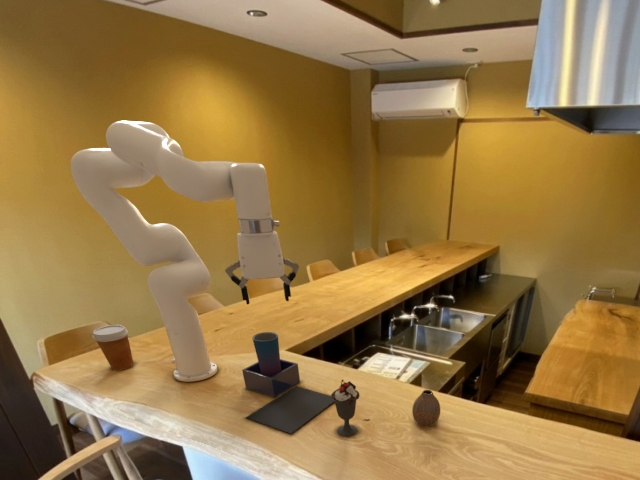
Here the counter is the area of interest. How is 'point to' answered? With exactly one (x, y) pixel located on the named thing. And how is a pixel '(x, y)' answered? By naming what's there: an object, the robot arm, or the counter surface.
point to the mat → (292, 409)
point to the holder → (271, 379)
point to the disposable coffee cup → (114, 345)
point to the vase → (426, 409)
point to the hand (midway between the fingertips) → (267, 301)
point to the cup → (267, 353)
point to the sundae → (346, 406)
